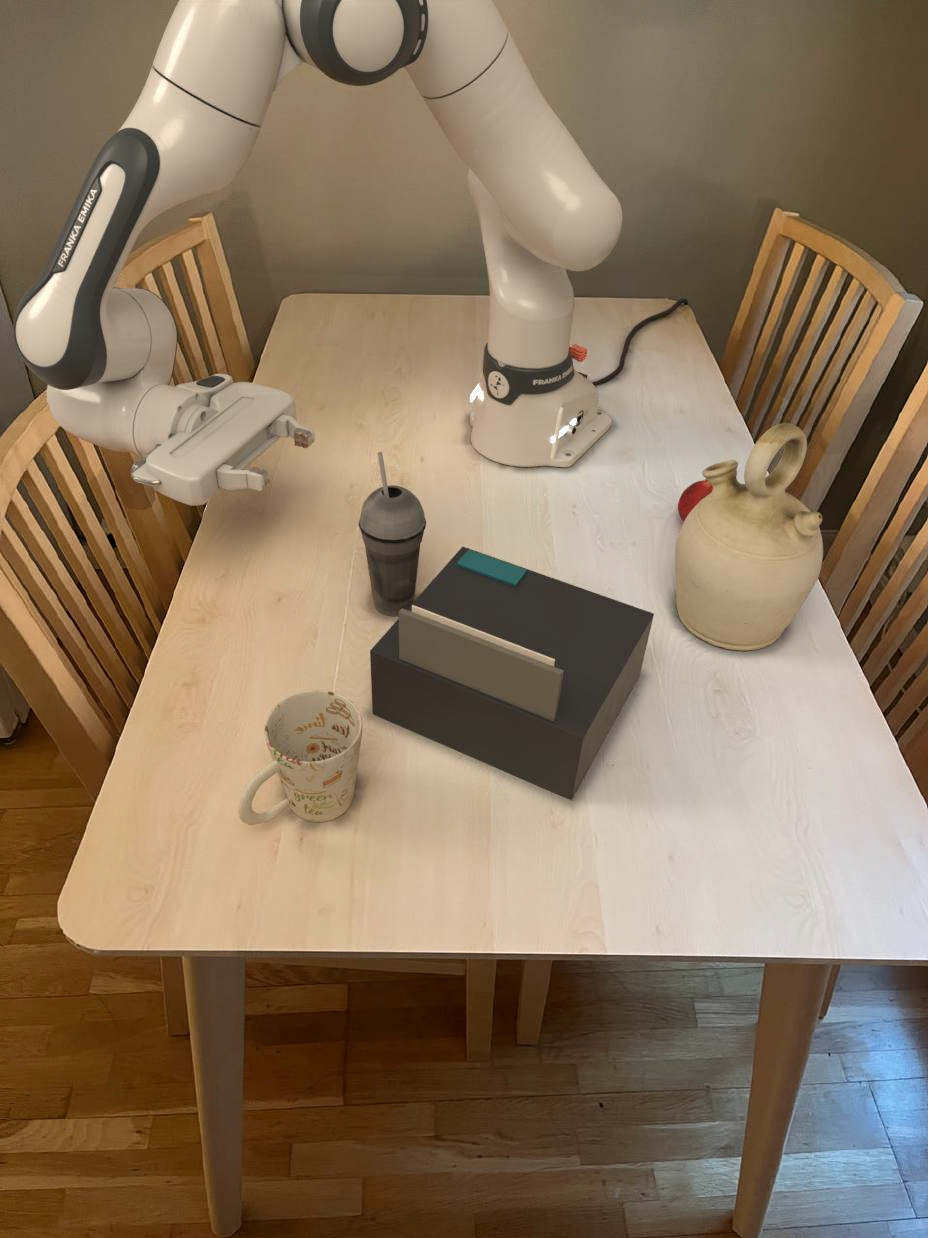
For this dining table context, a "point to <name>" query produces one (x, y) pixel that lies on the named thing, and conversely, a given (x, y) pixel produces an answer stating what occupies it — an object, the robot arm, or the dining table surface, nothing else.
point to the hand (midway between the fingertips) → (289, 459)
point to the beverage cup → (392, 544)
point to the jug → (749, 549)
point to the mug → (309, 757)
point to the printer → (510, 668)
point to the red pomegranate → (693, 497)
